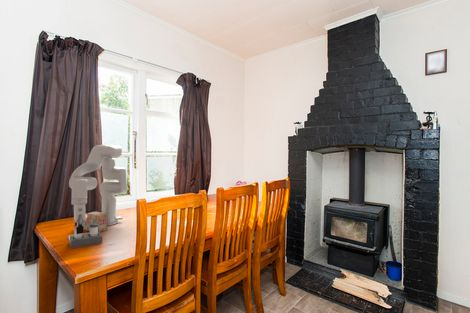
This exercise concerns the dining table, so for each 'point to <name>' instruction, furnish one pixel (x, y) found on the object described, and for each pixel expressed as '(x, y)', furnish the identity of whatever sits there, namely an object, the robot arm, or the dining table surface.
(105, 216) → the stack of blocks
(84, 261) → the dining table surface
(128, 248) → the dining table surface
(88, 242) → the socket strip
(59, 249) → the dining table surface
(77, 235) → the plug
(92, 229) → the grey capped white peg
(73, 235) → the tray
